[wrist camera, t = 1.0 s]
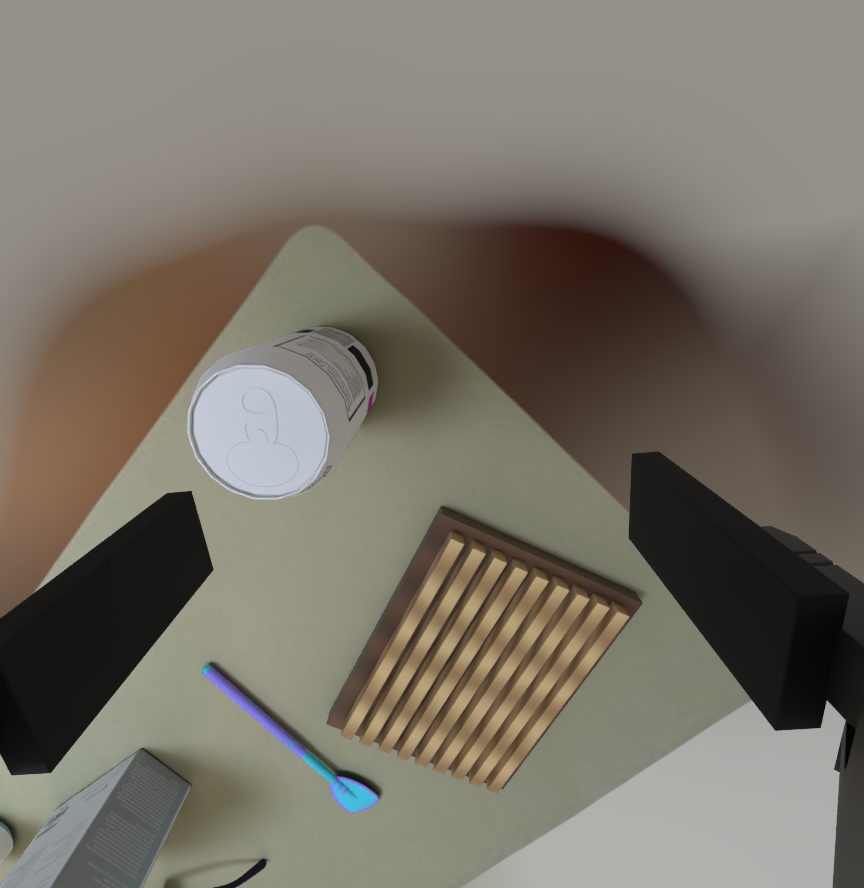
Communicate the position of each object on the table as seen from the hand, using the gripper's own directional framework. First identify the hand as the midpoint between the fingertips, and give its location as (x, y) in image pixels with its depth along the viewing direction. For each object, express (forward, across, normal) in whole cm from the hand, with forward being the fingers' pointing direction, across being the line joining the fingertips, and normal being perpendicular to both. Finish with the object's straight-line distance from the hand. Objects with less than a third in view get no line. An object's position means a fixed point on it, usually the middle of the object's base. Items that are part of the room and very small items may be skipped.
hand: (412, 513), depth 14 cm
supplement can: (+24, -8, 0) cm, 26 cm away
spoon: (+24, -18, -37) cm, 48 cm away
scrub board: (+24, +2, -28) cm, 37 cm away
